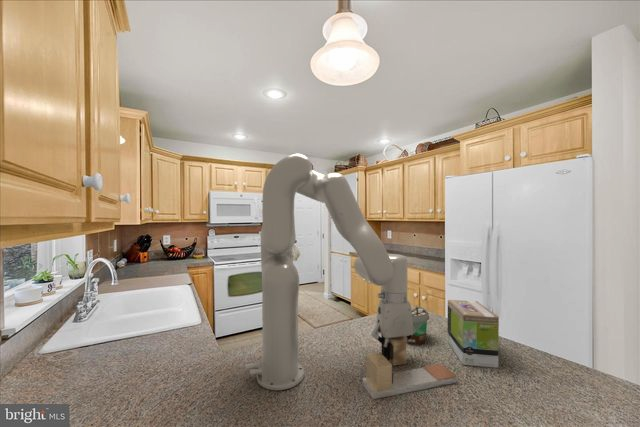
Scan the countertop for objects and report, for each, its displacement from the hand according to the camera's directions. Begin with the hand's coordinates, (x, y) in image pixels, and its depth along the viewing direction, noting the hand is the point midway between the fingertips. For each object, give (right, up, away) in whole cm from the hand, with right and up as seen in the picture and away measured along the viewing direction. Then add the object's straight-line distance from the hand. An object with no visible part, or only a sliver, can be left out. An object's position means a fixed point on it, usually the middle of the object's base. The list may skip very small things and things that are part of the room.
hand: (393, 356), depth 81 cm
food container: (+12, -1, +13) cm, 18 cm away
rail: (+1, -1, -11) cm, 11 cm away
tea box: (+25, -1, +4) cm, 26 cm away
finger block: (0, -1, 0) cm, 1 cm away
